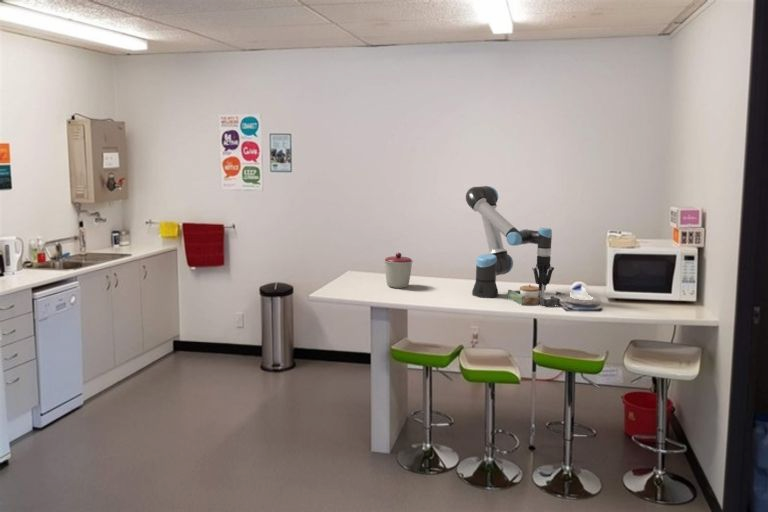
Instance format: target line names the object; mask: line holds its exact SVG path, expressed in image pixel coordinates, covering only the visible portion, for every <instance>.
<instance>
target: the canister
mask: <svg viewBox="0 0 768 512" xmlns="http://www.w3.org/2000/svg"><path fill="white" fill-rule="evenodd" d="M383 262H384V270H385V271H384V272H385V280H386V284H387V285H386V286H388V287H390V288H392V289H393V288H395V289H404V288H407V287H408V286H409V285H410V279H411V274H412V273H411V272H412V267H413V265H412V264H413V262H414V260H413V259H411V258H410V257H407V256H402V253H400V252H396V253H395V255H393V256H388V257H386V258H384V259H383Z"/></svg>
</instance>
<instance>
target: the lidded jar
mask: <svg viewBox="0 0 768 512" xmlns="http://www.w3.org/2000/svg"><path fill="white" fill-rule="evenodd" d="M519 291H520V294H521V295H523V296H524V297H538V295H539V286H536V285H535V286H534V285H531V284H528V285H521V286H519Z"/></svg>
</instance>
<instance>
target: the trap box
mask: <svg viewBox="0 0 768 512" xmlns="http://www.w3.org/2000/svg"><path fill="white" fill-rule="evenodd" d="M508 298H509V300H510V299H511V300H510V301H512V300H513V302H514V301H515V303H516V302H517V304H518V303H519V305H520V304H521V306H526V305H525V304H535V305H539V304H540V305H539V306H541V305H542V306H541V307H543V306H551V307H556V306H555V305H559V306H560V302H561V300H560V298H559V297H556V296H554V295H551V296H549V298H544V297H541V296H540V291H539V295H538V297H524V296H523V295H521V294H520V290H515V291H514V290H512V289H508V290H507V299H508Z"/></svg>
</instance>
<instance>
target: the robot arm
mask: <svg viewBox="0 0 768 512" xmlns="http://www.w3.org/2000/svg"><path fill="white" fill-rule="evenodd" d="M498 200H499V194H498V190H496V188H494V187H492V186H488V185H483V186H472V187H470V188H469V189H468V190H467V192H466V194H465V201H466V203H467V205H468V206H469V207H470V208H471V210H473V211H474V212H478V213H479V214H480V215H481V219H482V223H483V228H484V232H485V233H484V234H485V236H486V242H487V245H488V246H487V247H488V249H489V251H488V253H486V254H481V255H478V256H477V258H476V262H475V266H476V268H475V283H474V285H473V288H472V291H471V295H472V296H475V297H476V298H477V297H479V298H485V297H488V298H490V297H491V298H496V297H499V291H498V285H497V282H496V281H497V276H501V275H506V274H508V273H510V272H511V270H512V269H513V266H514V260H513V257H512V256H511V255H510V254H508V250H507V249H505V247H504V244H503V240H502V239H503V238H502V235H503V236H504V237H505V238H506V239H505V240H506V242H507V244H508V245H510V246H513V247H514V246H520V245H527V244H532V245H533V244H534V245H537V252H536V255H537V256H536V264H535V266H534V267H532V268H531V269H532V271H533V275H534V281H535V284H536V285H538V287H539V291H540V297H542V298H544V297H545V291H546V289H547V286H548V285H550V282H551V278H552V275H553V272H554V270H555V267H554V266H552V265H551V253H552V238H553V232H552V231H553V230H552V229H551V228H550V227H539V228H538V230H533V229H527V228H526V229H520V230H518V229H517V227H515V226H514V225H513V224H511V223H510V221H508V219H506V217H504V216H503V215H502V214H500V212H499V211H497V210H496V208H497V206H498V205H497V203H498Z"/></svg>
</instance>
